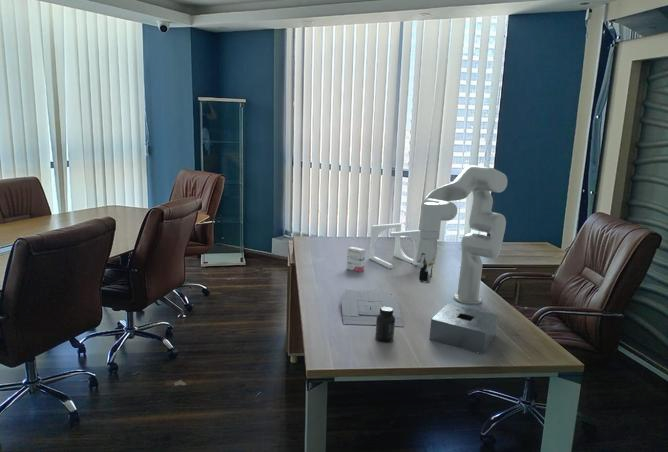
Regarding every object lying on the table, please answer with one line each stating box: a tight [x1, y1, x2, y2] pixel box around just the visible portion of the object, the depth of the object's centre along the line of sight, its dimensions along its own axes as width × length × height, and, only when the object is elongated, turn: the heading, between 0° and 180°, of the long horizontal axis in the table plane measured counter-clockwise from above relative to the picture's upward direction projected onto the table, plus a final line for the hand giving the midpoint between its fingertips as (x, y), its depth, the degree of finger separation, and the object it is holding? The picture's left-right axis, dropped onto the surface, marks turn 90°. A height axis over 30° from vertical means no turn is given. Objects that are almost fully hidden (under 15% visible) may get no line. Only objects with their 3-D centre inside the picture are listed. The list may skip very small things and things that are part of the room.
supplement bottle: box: [374, 306, 396, 343], centre depth 183 cm, size 7×7×12 cm
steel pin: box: [419, 259, 436, 284], centre depth 195 cm, size 6×6×10 cm
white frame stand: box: [368, 222, 420, 269], centre depth 283 cm, size 20×20×20 cm
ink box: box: [346, 246, 366, 273], centre depth 265 cm, size 9×5×12 cm, turn 58°
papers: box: [341, 289, 404, 327], centre depth 210 cm, size 24×30×4 cm
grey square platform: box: [428, 302, 499, 355], centre depth 189 cm, size 20×20×8 cm
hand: (425, 278), depth 196 cm, fingers closed on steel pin, 4 cm apart
